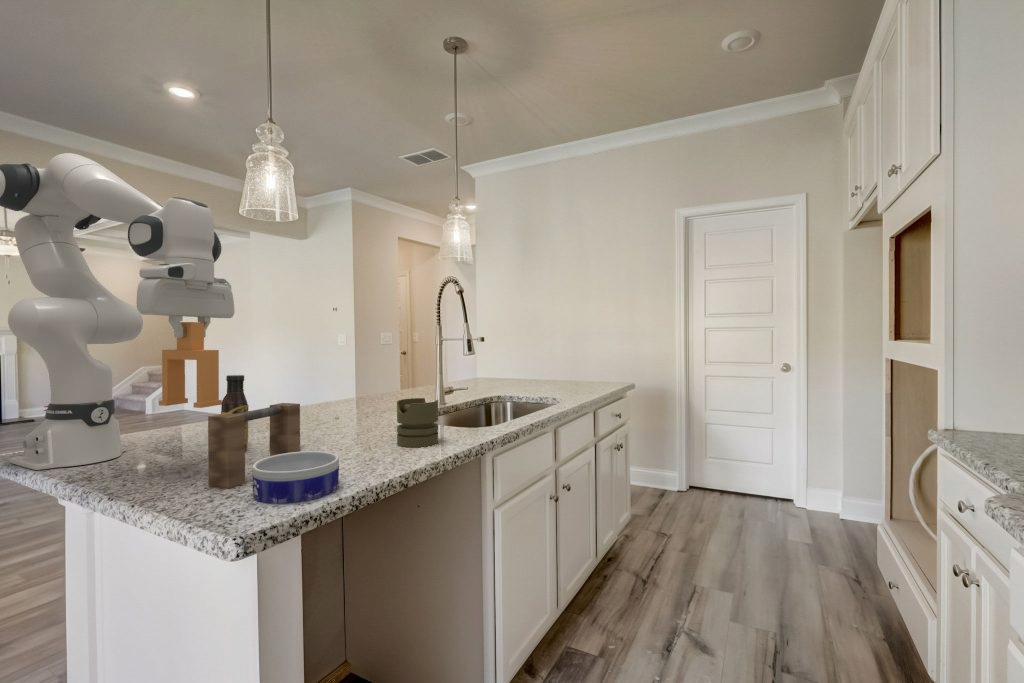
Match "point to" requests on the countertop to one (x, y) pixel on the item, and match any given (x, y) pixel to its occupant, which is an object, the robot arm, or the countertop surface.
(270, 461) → the dog bowl
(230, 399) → the sauce bottle
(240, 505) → the countertop surface
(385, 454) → the countertop surface
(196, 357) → the orange stepped block
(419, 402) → the piston
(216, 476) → the crossbar stand
